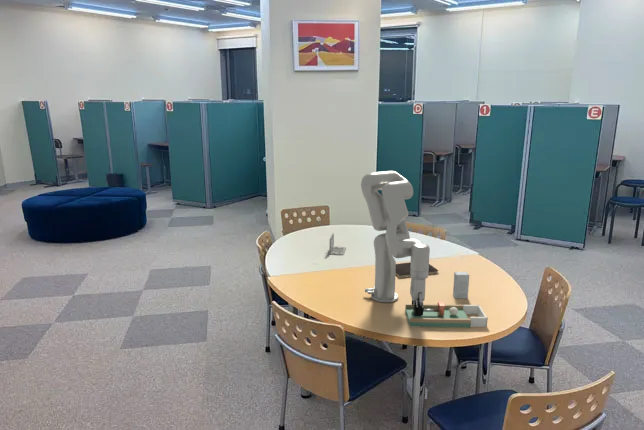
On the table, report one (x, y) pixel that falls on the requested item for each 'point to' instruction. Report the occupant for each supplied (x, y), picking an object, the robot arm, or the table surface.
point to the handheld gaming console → (334, 249)
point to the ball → (453, 311)
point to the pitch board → (437, 317)
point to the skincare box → (461, 285)
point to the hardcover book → (404, 270)
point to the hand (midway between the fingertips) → (417, 310)
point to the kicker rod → (439, 309)
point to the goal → (476, 321)
